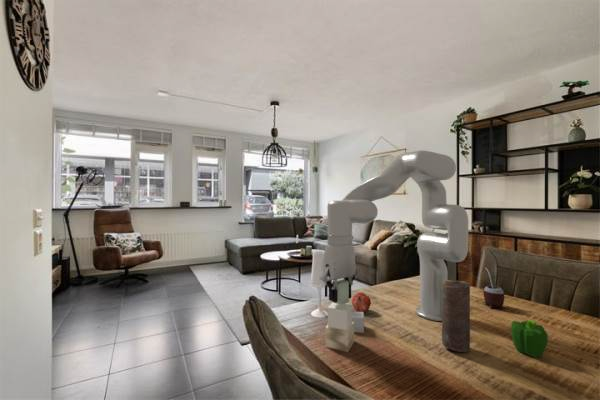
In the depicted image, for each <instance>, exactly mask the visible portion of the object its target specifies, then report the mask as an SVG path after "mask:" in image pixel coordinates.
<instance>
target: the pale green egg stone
mask: <svg viewBox="0 0 600 400" xmlns="http://www.w3.org/2000/svg"><path fill="white" fill-rule="evenodd" d="M332 283H333V280H332ZM336 289H337V302H336V304H346V303H349V301H350V299H349V281H347V280H344V279H343V278H341V279H337V284H336ZM333 303H334V302H333Z"/></svg>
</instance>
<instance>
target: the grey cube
mask: <svg viewBox="0 0 600 400" xmlns="http://www.w3.org/2000/svg"><path fill="white" fill-rule="evenodd" d="M352 322H354V333H360V334H361V333H363V334H364V333H365V315H364V312H360V311H356V310H355V311H353V310H352Z"/></svg>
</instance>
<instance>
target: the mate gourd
mask: <svg viewBox="0 0 600 400" xmlns="http://www.w3.org/2000/svg"><path fill="white" fill-rule="evenodd" d="M484 268H485V270H486V271H487V272H486V273H488V277H489V280H490V285H487V286H485V287H484V289H483V298H484V306H487V307H489V309H490V310H493V309H495V308H496V309H499V310H504V308H503V307H504V303H505V298H506V297H505V292H504V290H503V289H502V288H501V287H500V286H496V285H494V284H493V283H494V282H493V281H492V274H491V273H490V271H489V269H488V268H487V267H484Z"/></svg>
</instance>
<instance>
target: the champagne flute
mask: <svg viewBox="0 0 600 400" xmlns="http://www.w3.org/2000/svg"><path fill="white" fill-rule="evenodd" d="M323 257H324V251H322V250H317V251H316V250H315V251H313V252H312V264H311V277H310V282H311V285H312V286H314V287H315V289H317V308H316V309H315V310H313V311H312V312H311V313H310V315H311V316H312V317H315V318H327V317H328V311H326V310H323V309H322V289H324V288H325V287H326V284H325V283H324V282H322V281H321V280H320V278H321V276H322V274H323ZM328 278H329V277H327V279H328Z"/></svg>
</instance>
